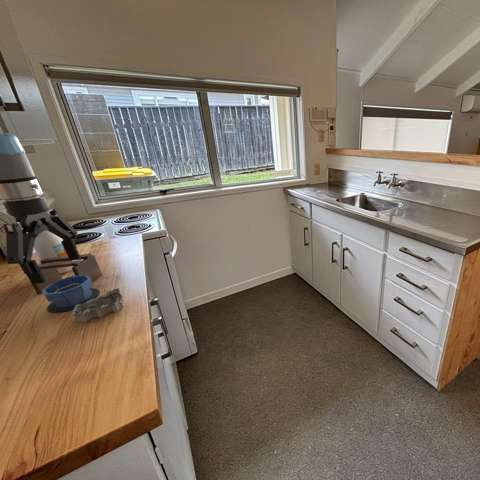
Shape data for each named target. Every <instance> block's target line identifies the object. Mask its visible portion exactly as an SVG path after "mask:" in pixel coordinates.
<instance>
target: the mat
mask: <svg viewBox="0 0 480 480" xmlns="http://www.w3.org/2000/svg"><path fill="white" fill-rule="evenodd" d="M91 290H92V295H91V297H90V298H88V299H87V300H85V301H83V302H81V303H79V304H81V305H82V304H83V303H86V302H87V301H90V300H92V299H96V298H98V297H99V295H100V289H98V288H95V287H94V288H93V287H91ZM77 305H78V304H77ZM74 307H75V305H74V306H70V307H66V308H58V307H56V305H55V304H54V302H49V304H48V306H47V308H46V309H47V312H49V313H51V314H52V313H53V314H58V313H67V312H70V311H73V309H74Z"/></svg>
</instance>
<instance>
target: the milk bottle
mask: <svg viewBox="0 0 480 480" xmlns="http://www.w3.org/2000/svg"><path fill="white" fill-rule="evenodd" d="M61 241H63V239H62V238H60V237H58V236H56V235H55V234H53V233H51V232H49V231H47V230H46V231H43V232H42V233H39V234H38V236H37V237H36V238H35V243H34V248H33V250H34V251H35V252H36V255H37V257H38V258H39V261H41V260H42V259H44V258H52V257H63V256H67V253H66V251H65V249H64V247H63V245H62V243H61ZM71 261H74V260H71ZM61 262H69V261H61ZM54 263H59V262H54ZM72 267H73V266H71V267H61V268H57V269H58V271H59V273H60V275H62V274H65V273H68V272H70V271H73V270H72Z"/></svg>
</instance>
